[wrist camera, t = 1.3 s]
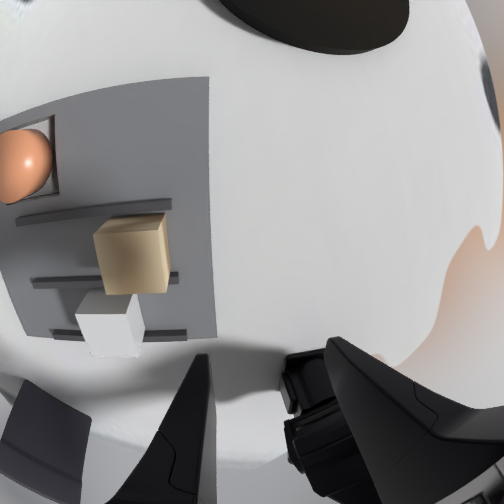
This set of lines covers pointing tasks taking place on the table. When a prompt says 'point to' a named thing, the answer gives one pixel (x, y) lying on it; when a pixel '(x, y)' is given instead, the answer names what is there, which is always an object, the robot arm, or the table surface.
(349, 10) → the wireless charger
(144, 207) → the grey railed board
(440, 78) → the table surface
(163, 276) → the beech slider
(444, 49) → the table surface
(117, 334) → the white cube
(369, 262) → the table surface
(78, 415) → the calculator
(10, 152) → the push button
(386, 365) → the robot arm
